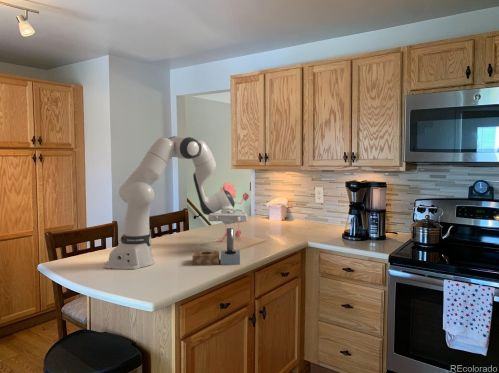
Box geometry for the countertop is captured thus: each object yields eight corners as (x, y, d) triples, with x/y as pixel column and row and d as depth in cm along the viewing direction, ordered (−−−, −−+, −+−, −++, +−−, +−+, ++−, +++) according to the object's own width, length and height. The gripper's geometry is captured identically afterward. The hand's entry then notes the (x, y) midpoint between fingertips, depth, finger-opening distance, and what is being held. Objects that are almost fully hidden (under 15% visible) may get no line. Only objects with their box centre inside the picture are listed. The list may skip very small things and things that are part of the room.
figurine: (253, 238, 236) (251, 181, 234) (218, 245, 219) (216, 183, 217) (237, 235, 247) (235, 181, 245) (203, 241, 231) (201, 183, 229)
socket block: (220, 264, 178) (220, 255, 178) (221, 259, 187) (221, 250, 187) (240, 264, 179) (239, 254, 178) (239, 259, 188) (239, 250, 187)
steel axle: (227, 262, 182) (226, 229, 180) (227, 261, 185) (226, 228, 184) (233, 262, 182) (233, 229, 180) (233, 260, 185) (233, 228, 184)
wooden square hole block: (192, 265, 178) (192, 255, 178) (194, 260, 187) (194, 251, 187) (218, 264, 178) (218, 255, 178) (219, 259, 187) (219, 250, 187)
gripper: (208, 209, 206) (207, 212, 192) (246, 210, 207) (247, 213, 193) (208, 221, 207) (206, 225, 193) (246, 221, 207) (247, 225, 194)
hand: (227, 219), depth 193 cm, fingers open, 8 cm apart
